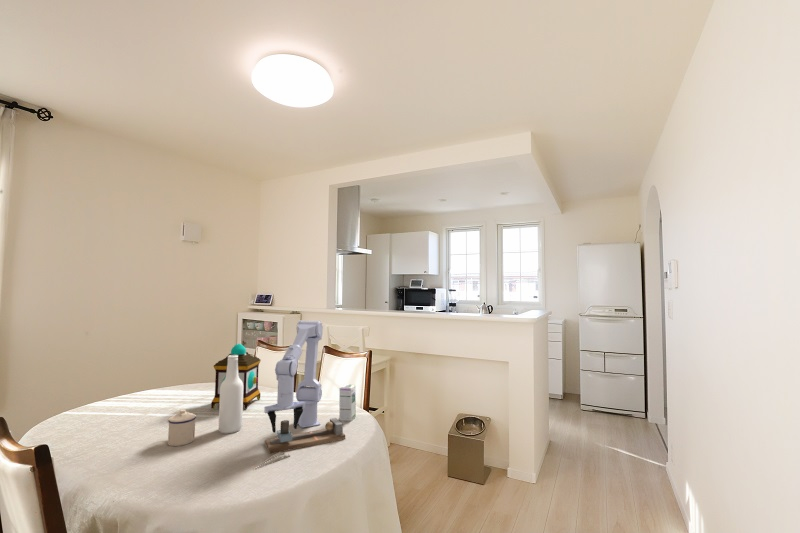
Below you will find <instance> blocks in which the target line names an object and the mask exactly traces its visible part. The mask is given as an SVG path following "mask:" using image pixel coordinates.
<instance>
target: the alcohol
mask: <svg viewBox="0 0 800 533" xmlns="http://www.w3.org/2000/svg"><path fill="white" fill-rule="evenodd" d="M227 356H228V355H227ZM243 410H244V404H243V382H242V381H241V379H240V378H239V376H238V356H237V355H230V356H228V364H227V373H226V378H225V380H224V381H223V382H222V384H221V387H220V404H219V410H218V431H219V432H220V433H221V434H226V435H227V434H235V433H237V432H239V431H240V430H241V429H242V427H243V414H244V412H243Z"/></svg>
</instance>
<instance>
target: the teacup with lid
mask: <svg viewBox="0 0 800 533" xmlns="http://www.w3.org/2000/svg"><path fill="white" fill-rule="evenodd" d="M196 419H197V416H196V414H195V413H192V412H189V411H187V410H186V409H180V410H179V412H178V413H176V414H174V415H172V416H170V417H169V418H168V435H167V436H168V438H167V439H168V440H167V443H168V446H171V447H181V446H185V445H188V444H190V443H192V442H193V441H194V440H195V434H196V432H195V431H196Z"/></svg>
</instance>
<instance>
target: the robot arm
mask: <svg viewBox="0 0 800 533" xmlns="http://www.w3.org/2000/svg"><path fill="white" fill-rule="evenodd" d="M323 329H324V326H323V323H322V321H320V320H300V319H299V321H298V322H297V324H296V336H295V339H294V341H293V344H290V345H289V346H288V347H287V349H286V351H285V353H284V355H283V357H282V358H281V359H280V360H279V361H277V362H276V365H275V369H274V372H275V375H276V376H275V377H276V381H277V396H276V400H277V401H276V404H271V405H267V406H264V407H263V408H264V409H263V410H264V413H265V414H267V416H268V418H269V422H270V424H271V428H272V432H273V433H277V431H276V425H277V424H276V422H277V420H276V419H277V414H276V412H281V411H282V412H283V411H287V410H293V429H294V430H297V429H298V425H299V427H300V428H301V429H303V428H310V427H315V426H320V425H321V423H320V422H319V420H318V403H319V402H320V401H321V399H322V397H323V390H322V383H321V382H320V381H318V380H317V377H316V376H317V364H318V363H317V362H318V350H319V341H321V340H322V337H323ZM305 343H306V349H305V363H304V372H303V379H302V380H301V381H300V382H298V384H297V389H296V392H295V399H296V401H294V390H295V389H294V388H295V375H296V374H297V372H298V371H297V370H298V367H299V366H298V365H299V363H298V362H299V360H300V358H301V356H302V354H303V349H302V348H303V346H304V345H305Z"/></svg>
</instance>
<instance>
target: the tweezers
mask: <svg viewBox="0 0 800 533" xmlns="http://www.w3.org/2000/svg"><path fill="white" fill-rule="evenodd" d="M277 456H278V457H277ZM275 457H276V458H275ZM289 457H291V455H290V454H289V453H288V454H285V452H277V453H273V455H271V456H270V457H268V458H267V459H266V460H264V461H262V462H261V463H260V464H258V465H257V466H255V467H254V468H255V470H258V469H260V468H262V466H263V467H265V466H268V465H270V464H272V462H273V463H275V462H278V461H280V460H284V459H286V458H289ZM271 459H272V460H271ZM269 460H270V461H269ZM267 461H268V462H267ZM265 462H266V463H265ZM267 464H268V465H267ZM260 465H261V466H260ZM264 465H265V466H264ZM258 466H259V467H260V468H259V467H258ZM256 467H257V468H258V469H257V468H256Z"/></svg>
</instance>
